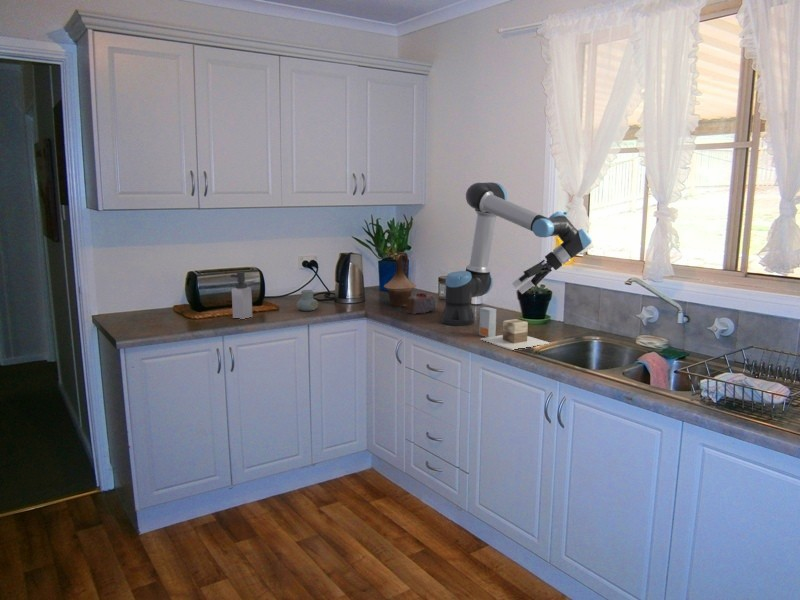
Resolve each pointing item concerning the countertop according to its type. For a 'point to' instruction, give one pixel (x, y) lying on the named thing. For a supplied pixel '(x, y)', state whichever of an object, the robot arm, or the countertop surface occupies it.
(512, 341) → the lower block
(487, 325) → the skincare box
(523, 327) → the upper block
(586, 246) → the robot arm
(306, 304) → the air freshener
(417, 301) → the food item
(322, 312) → the countertop surface
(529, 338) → the plate
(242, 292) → the soap dispenser
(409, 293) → the brown vase
